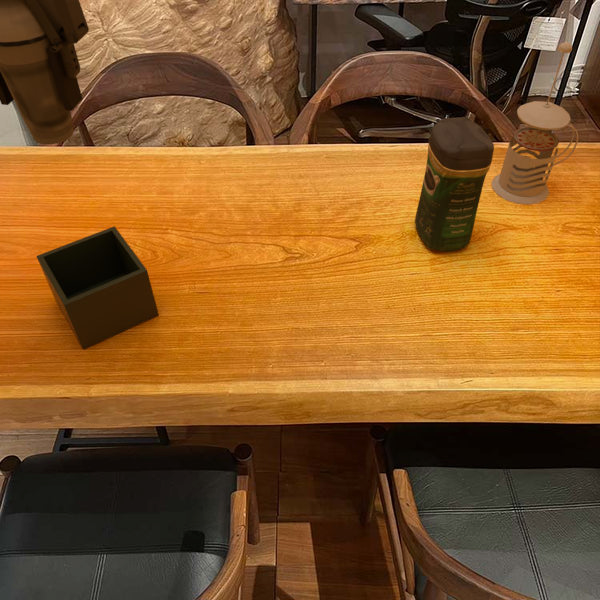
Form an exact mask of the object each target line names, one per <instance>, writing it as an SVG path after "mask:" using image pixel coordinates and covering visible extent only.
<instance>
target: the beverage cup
mask: <svg viewBox="0 0 600 600" xmlns="http://www.w3.org/2000/svg"><path fill="white" fill-rule="evenodd" d="M51 45H52V43H51V42H50V40H49V38H48V37H47V35H46V33H45V32H44V30H43V29H42V27H41V25H40V24H39V22H38V21H37V19H36V17H35V16H34V14H33V13H32V11H31V9H30V8H29V6H28V4H27V3H26V1H25V0H0V71H1V74H2V76H3V78H4V80H5V82H6V84H7V86H8V88H9V90H10V92H11V95H12V97H13V99H14V100H13V101H14V103H15V105H16V107H17V109H18V112H19V113H20V115H21V117H22V120H23V122H24V124H25V126H26V128H27V129H28V131H29V132H30V135H31V137H32V139H33V141H34V142H35V143H37V144H40V145H47V146H48V145H56V144H61V143H63V142H65V141H68V140H69V139H70V138H72V136H73V135H74V132H75V130H74V125H73V117H72V111H68V110H65V108H64V104H63V101H62V98H61V95H60V92H59V89H58V85H57V82H56V79H55V76H54V73H53V70H52V66H51V63H50V60H49V57H48V54H47V51H46V49H47V48H48V47H50V46H51Z"/></svg>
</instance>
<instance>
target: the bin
mask: <svg viewBox="0 0 600 600" xmlns="http://www.w3.org/2000/svg"><path fill="white" fill-rule="evenodd" d="M36 258H37V261H38V263H39V266H40V268H41V270H42V272H43V275H44V277H45V279H46V282H47V284H48V286H49V288H50V291H51V293H52V296H53V298H54V299H55V302H56V304H57V306H58V307H59V309H60V311H61V313H62V314H63V317H64V318H65V320H66V322H67V323H68V326H69V327H70V330H71V331H72V333H73V335H74V337H75V338H76V340H77V342H78V343H79V345H80V348H81V349H82V350H86V349H88V348H91V347H92V346H95V345H97V344H99V343H102V342H103V341H105V339H106V340H108V339H110V338H113V337H114V336H116V335H119V334H121V333H123V332H125V331H128V330H129V329H132V328H134V327H136V326H138V325H140V324H143V323H145V322H147V321H150V320H152V319H154V318H157V317H158V316H159V315H160V314H159V311H158V306H157V303H156V299H155V295H154V292H153V288H152V283H151V279H150V276H149V271H148V269H147V268H146V267H145V265H144V264H143V262H142V261H141V260H140V258H139V257H138V255H137V254H136V253H135V252H134V250H133V249H132V248H131V246H130V245H129V243H128V242H127V241H126V240H125V238H124V237H123V235H122V234H121V233H120V231H119V230H118V228H117V227H116V226H111V227H108V228H106V229H104V230H101V231H98V232H95V233H93V234H90V235H87V236H85V237H83V238H82V237H81V238H80V239H77V240H75V241H72V242H70V243H67V244H64V245H62V246H59V247H56V248H54V249H51V250H47V251H46V252H43V253H40V254H38V255H36Z"/></svg>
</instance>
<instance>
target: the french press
mask: <svg viewBox="0 0 600 600" xmlns="http://www.w3.org/2000/svg"><path fill="white" fill-rule="evenodd" d="M557 51H558V52H560V53H562V55H561V58H560V61H559V65H558V67H557V71H556V74H555V76H554V80H553V82H552V86H551V89H550V92H549V94H548V95H549V96H548V98H547V101H539V100H534V101H529V102H526V103H524V104H522V105H520V106H519V107H518V108H517V110H516V113H517V117H518V119H519V120H520V122H522V123H523V124H524V125H526V126H524V127H520V128H518V129H516V130H515V131H514V133H513V134H512V137H511V138H510V140H509V143H508V145H507V150H506V152H505V156H504V160H503V163H502V166H501V170H500V173H499V174H497V175H495V176H494V177H493V178H492V180H491V189H492V190H493V191H494V192H495V193H496V195H497V196H499V197H501V198H503V199H504V200H505V201H508V202H511V203H514V204H518V205H519V204H520V205H535V204H539V203H542V202H543V201H545V200H547V199H548V197H549V195H550V189H549V186H548V185H547V182H548V180H549V178H550V174H551V173H552V170H553V167H555V166H556V165H559V164H562V163H564V162H565V161H567V159H568V158H570V157H571V155H572V154H573V153H574V151H575V150H576V148H577V145H578V142H579V133H578V130H577V129H576V127H575V126H574V125H573V123H572V122H571V116H570V113H569V112H568V111H566V109H564V107H563V106H562V107H561V106H560V105H557V104H555V103H553V102H552V101H550V99H551V96H552V93H553V90H554V87H555V85H556V84H555V83H556V81H557V77H558V75H559V72H560V69H561V65H562V63H563V59H564V56H565V54H571V52H572V51H573V46H572V43H571V42H570V41H569V42H568V41H564V42H562V43H559V45H558V47H557ZM568 127H569V128H570V129H572V135H571V139H570V142H569V143H568V145H567V146H566V148H565V149H564V150H563V151H562V152H561V153H559V154H558V152H559V149H558V145H559V144H560V140H559V137H558V136H557V135H556V134H555V133H554V132H553V131H557V130H560V131H561V132H562V133H565V131H566V130H567V128H568ZM563 128H564V129H563ZM575 137H576V139H575V143H574V145H573V148H572V150H571V151H570V152H569V154H568V155H567V156H566V157H565V158H563V159H562V160H560V161H556V162H555V160H556V159H557V158H559V157H561V156H563V154H565V153H566V152H567V150H568V149H569V148H570V146H571V145H572V143H573V140H574V138H575ZM514 146H515V147H514ZM513 147H514V148H513ZM521 148H524V149H521ZM518 149H519V150H518ZM554 149H555V150H554ZM517 150H518V151H517ZM537 152H538V153H537ZM522 154H528V155H530V156H533V158H532V157H529V156H527V155H522ZM557 154H558V155H557ZM552 155H553V156H552ZM534 157H535V158H534ZM544 178H545V179H544Z"/></svg>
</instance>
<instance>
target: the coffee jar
mask: <svg viewBox="0 0 600 600" xmlns="http://www.w3.org/2000/svg"><path fill="white" fill-rule="evenodd" d="M494 150H495V143H494V142H493V141H492V139H491V138H490V136H489V135H488V134H487V132H486V131H485V130H484V129H483V127H481V126H480V125H479V124H478V123H476V122H474V120H471V119H470V118H469V117H467V116H465V117H463V116H461V117H446V118H442V119H440V120H439V121H438V122H437V123H436V124H435V125H434V126H433V128H432V130H431V132H430V137H429V140H428V145H427V158H426V166H425V170H424V171H425V172H424V177H423V181H422V185H421V191H420V196H419V200H418V204H417V208H416V213H415V216H414V217H415V218H414V225H415V229H416V232H417V234H418V236H419V237H420V239H421V241H422V242H423V244H424V246H426V247H427V248H428V249H430V250H433V251H436V252H444V253H445V252H447V253H448V252H450V253H451V252H457V251H459V250H462V249H465V248H467V247H468V246H469V245H470V242H471V240H472V235H473V231H474V227H475V222H476V218H477V217H476V216H477V212H478V208H479V204H480V199H481V195H482V192H483V187H484V183H485V180H486V177H487V174H488V172H489V171H490V168H491V166H492V162H493V156H494V152H495V151H494Z"/></svg>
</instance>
